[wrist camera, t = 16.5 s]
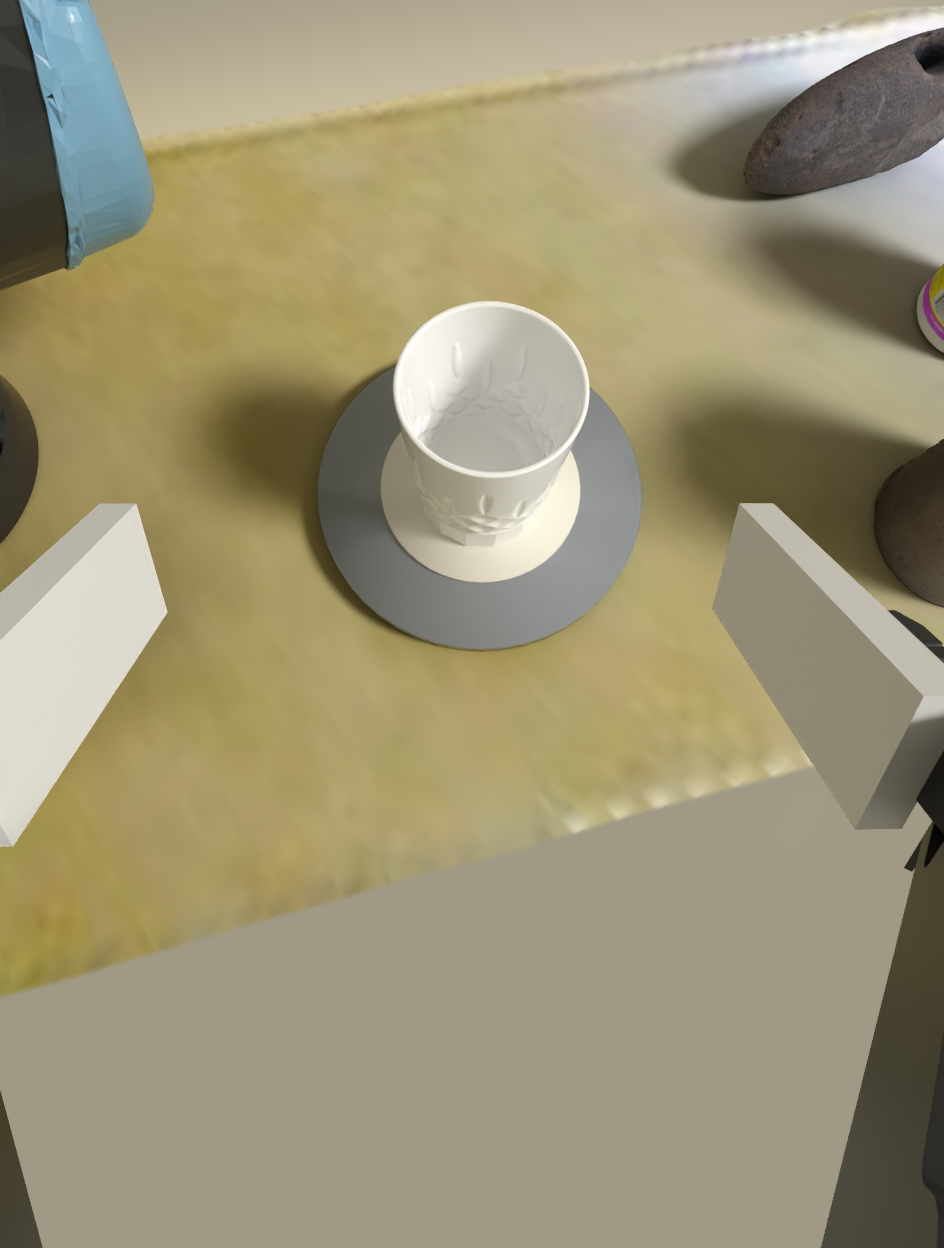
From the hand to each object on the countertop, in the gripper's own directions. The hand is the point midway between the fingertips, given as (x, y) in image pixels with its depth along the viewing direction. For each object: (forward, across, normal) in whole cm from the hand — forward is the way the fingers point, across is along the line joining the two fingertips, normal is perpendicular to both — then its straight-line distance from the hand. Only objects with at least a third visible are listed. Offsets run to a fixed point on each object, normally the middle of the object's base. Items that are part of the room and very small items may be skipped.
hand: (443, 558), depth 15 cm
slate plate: (+22, +2, -8) cm, 23 cm away
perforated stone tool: (+39, +26, +8) cm, 47 cm away
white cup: (+21, +2, -7) cm, 22 cm away
